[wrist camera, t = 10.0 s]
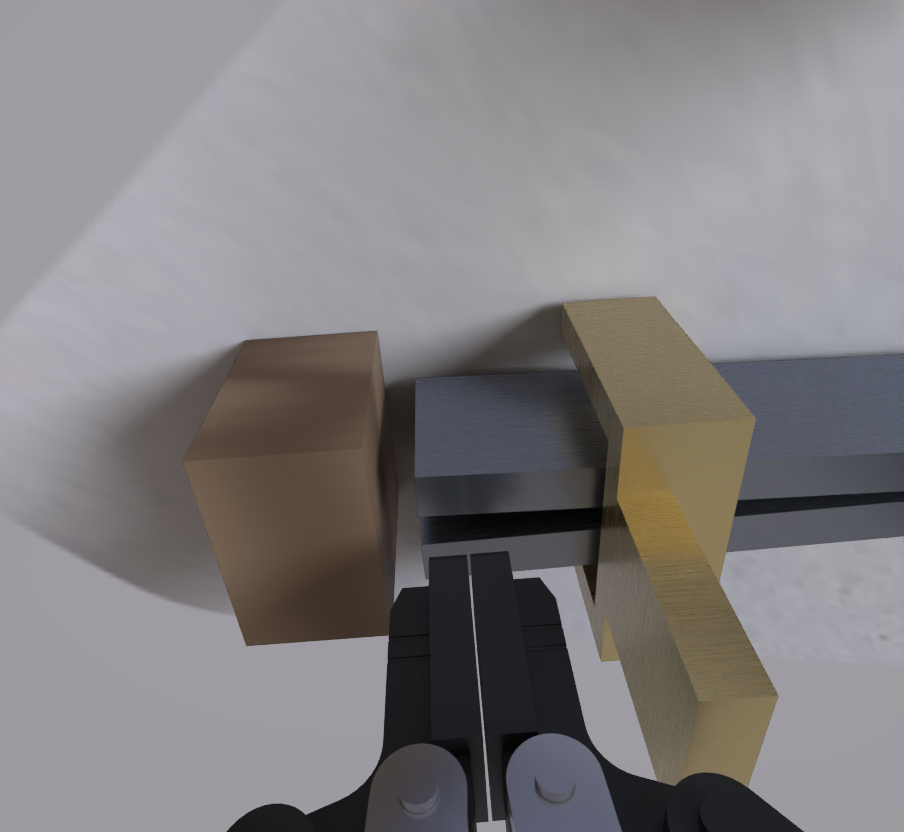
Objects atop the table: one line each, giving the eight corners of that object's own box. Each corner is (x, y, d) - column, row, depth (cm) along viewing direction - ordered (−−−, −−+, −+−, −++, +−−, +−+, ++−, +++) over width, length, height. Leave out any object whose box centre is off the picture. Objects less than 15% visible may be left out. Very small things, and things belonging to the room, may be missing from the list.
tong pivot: (286, 500, 18) (246, 645, 14) (245, 340, 16) (182, 461, 12) (398, 491, 18) (392, 634, 14) (376, 330, 16) (361, 448, 12)
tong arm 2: (418, 412, 17) (417, 516, 13) (415, 378, 16) (414, 477, 13) (1034, 382, 17) (1189, 475, 13) (1052, 347, 16) (1219, 436, 13)
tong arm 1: (424, 468, 17) (425, 579, 14) (420, 437, 17) (420, 544, 14) (1019, 414, 17) (1165, 512, 14) (1035, 381, 17) (1190, 475, 13)
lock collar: (555, 500, 18) (659, 871, 11) (562, 303, 15) (718, 620, 7) (632, 494, 19) (794, 861, 11) (655, 296, 15) (911, 606, 7)
